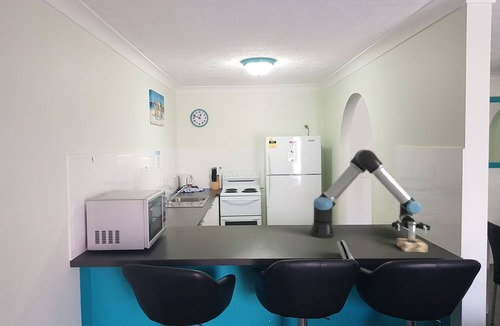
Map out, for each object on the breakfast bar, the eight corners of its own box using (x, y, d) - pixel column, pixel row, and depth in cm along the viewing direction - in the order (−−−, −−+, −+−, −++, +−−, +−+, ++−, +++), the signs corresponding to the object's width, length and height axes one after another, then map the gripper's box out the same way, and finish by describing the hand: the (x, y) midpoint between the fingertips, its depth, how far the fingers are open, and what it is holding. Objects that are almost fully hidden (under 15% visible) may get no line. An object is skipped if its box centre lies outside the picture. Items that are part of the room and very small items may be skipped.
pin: (408, 249, 180) (409, 222, 179) (405, 247, 184) (406, 221, 184) (417, 249, 180) (418, 223, 179) (413, 247, 184) (414, 221, 183)
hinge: (356, 265, 155) (349, 245, 155) (346, 267, 156) (340, 248, 156) (350, 253, 172) (343, 236, 172) (341, 256, 172) (335, 238, 172)
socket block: (404, 251, 176) (405, 244, 176) (396, 244, 188) (396, 238, 188) (427, 252, 175) (427, 244, 175) (417, 245, 187) (418, 238, 187)
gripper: (430, 229, 198) (437, 238, 178) (386, 225, 206) (388, 233, 186) (430, 217, 198) (437, 224, 178) (386, 214, 206) (388, 221, 186)
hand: (412, 229), depth 182 cm, fingers open, 13 cm apart
